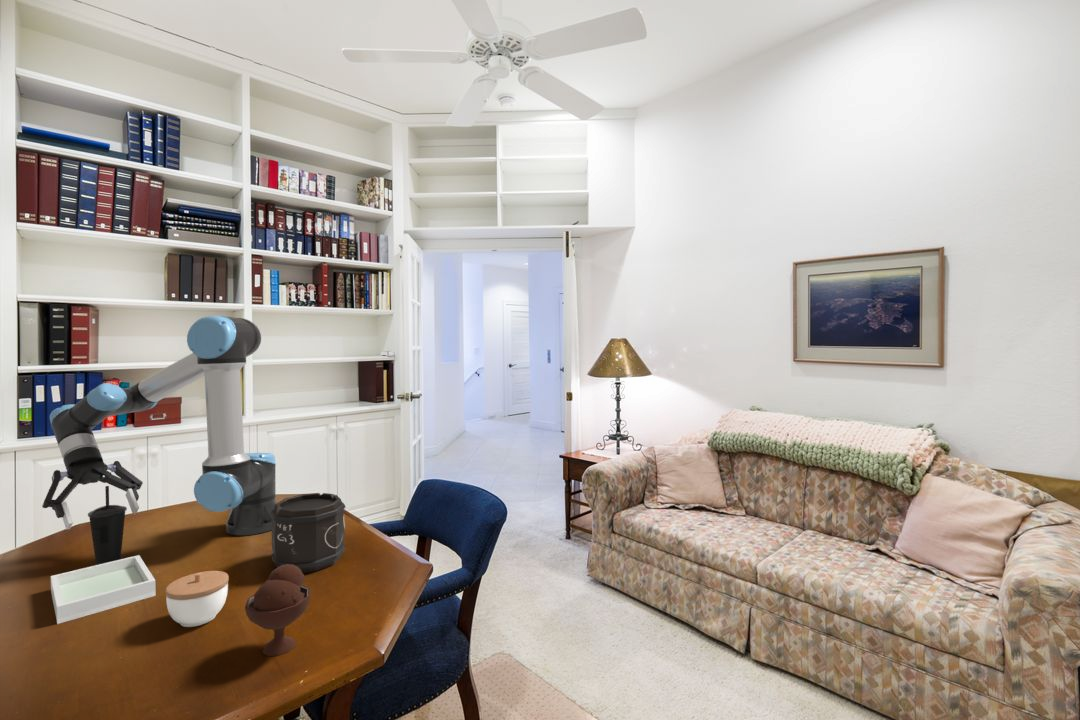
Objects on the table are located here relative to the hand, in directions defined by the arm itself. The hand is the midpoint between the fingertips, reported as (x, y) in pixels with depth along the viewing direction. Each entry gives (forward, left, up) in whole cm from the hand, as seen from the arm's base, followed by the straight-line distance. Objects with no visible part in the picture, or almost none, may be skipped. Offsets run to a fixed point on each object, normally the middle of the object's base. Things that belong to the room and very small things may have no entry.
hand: (104, 518), depth 130 cm
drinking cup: (-1, 0, -12) cm, 12 cm away
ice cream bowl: (-58, +46, -12) cm, 75 cm away
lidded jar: (-38, +33, -12) cm, 52 cm away
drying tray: (-11, +18, -12) cm, 24 cm away
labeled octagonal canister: (-52, +6, -12) cm, 54 cm away
